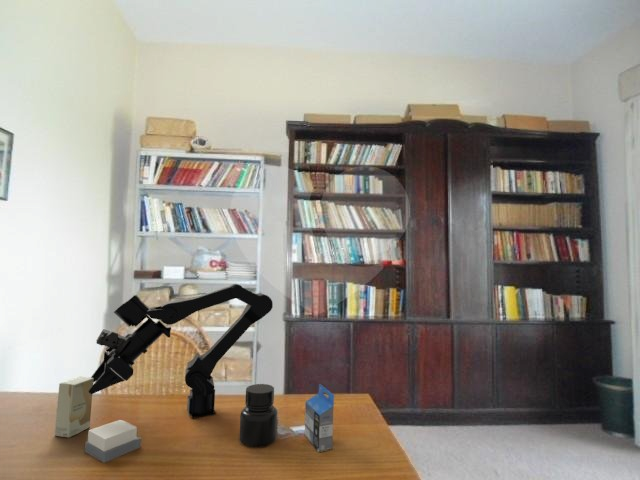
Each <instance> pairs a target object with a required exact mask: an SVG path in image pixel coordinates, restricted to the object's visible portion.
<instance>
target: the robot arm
mask: <svg viewBox="0 0 640 480" xmlns="http://www.w3.org/2000/svg"><path fill="white" fill-rule="evenodd" d="M235 299H237V300H239V301H241V302H243V303H244V304H246V305H245V307H244V310H243V311H242V313H241V315H240V316H238V318H237V319H236V320H235V321H234V323H232V325H230V326H229V328H228V329H227V330H225V332H224V333H223V334H222V335H221V336H220V337H219V338H218V339H217V340H216V341H215V343H214V344H213V345H212V346H211V347H210V348H209V349H208V350H207V351H206V352H205V353H202V354H201V353H199V352H196V354H195V355H194V356H193V358H192V359H191V360H189V361H187V366H186V369H185V371H184V372H185V373H184V382H185V384H186V385H187V387H189V388H190V389H189V395H187V402H186V411H187V413H188V415H189V416H190V418H191V419H195V418H196V419H197V418H201V417H207V416H212V415H213V416H214V415H216V414H217V411H216V410H215V403H216V402H215V401H216V399H215V398H216V396H215V395H216V389H215V382H214V377H213V376H212V373H213V372H214V370H215V368H216V365H217V364H218V362H219V361H220V360H221V359H222V358H223V356H225V354H226V353H227V352H228V351H229V350H230V349H231V348H232V347H233V346H234V345H235V343H237V341H239V339H240V338H241V337H242V336H243V335H244V334H245V332H247V330H248V329H249V328H250V327H251V326H252V325H253V324H255V323H256V322H258V321H260V320H261V319H263V318H264V317H265V316H266V315H268V314H269V313H270V312H271V311H272V309H273V308H274V307H273V300H272V298H271V297H270V296H268V295H267V294H265V293H262V292H260V293H255V292H252V291H250V290H248V289H246V288H245V287H243V286H241V284H237V283H233V284H231V285H229V286H227V287H223V288H220V289H217V290H214V291H211V292H208V293H205V294H201V295H199V296H195V297H192V298H185V299H178V300H171V301H170V300H169V301H167V302H164V304H163V305H162V306H161V305H160V306H152V307H149V306H147V304H145V302H143V301H142V299H141V297H139V296H138V295H137V294H134V295H133V296H132V297H131V298H129V299H128V300H127V301H125V302H124V303H122V304H121V305H120V306H119V307H118V308H117V309H115V310H114V311H113V313H114V314H115V315H116V316H117V317H118V318H119V319H120V320H121V321H122V322H123V323H124V324H126V325H127V326H128V328H130V327H137V326H138V325H139V327H138V328H136V329H135V330H134V331H133V332H131V333H127V334H126V335H125V336H124V335H121V334H118V333H119V332H115V331H113V330H107V329H102V330H101V332H100V334H99V335H98V337H97V339H96V342H95V343H96V344H98V345H99V346H105V350H104V352H103V360H102V362H101V363H100V364H99V366H98V367H97V369H96V370H95V372H94V373H93V374H92V375H91V376H90V378H94V380H93V386H92V387H91V388H90V390H89V391H88V392H89V393H90V394H92V395H93V394H96V393H98V392H100V391H102V390H105V389H107V388H110V387H111V386H114V385H117V384H119V383H121V382H122V383H123V382H125V381H126V382H127V381H128V380H129V379H130V378H132V376H133V375H134V368H133V366H134V365H135V361H136V360H137V359H138V358H139V357H140V356H141V355H143V354H144V355H145V354H146V353H147V352H148V348H150V347H151V346H152V345H153V344H154V343H156V341H157V340H158V339H159V338H160V337H161V336H162V335H165V336H166V338H171V331H172V327H171V326H170V325H174V324H176V323H177V324H178V322H180V321H183V320H185V319H186V318H189V316H191V315H192V314H194V313H196V312H199V311H202V310H205V309H208V308H211V307H214V306H217V305H219V304H223V303H225V302H228V301H229V302H230V301H231V300H235ZM145 319H147V320H146V321H144V320H145ZM154 320H157V321H156V322H155V321H154ZM143 321H144V322H143ZM142 322H143V323H142ZM141 323H142V324H141ZM166 325H168V326H166Z"/></svg>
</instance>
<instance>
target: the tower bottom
mask: <svg viewBox="0 0 640 480" xmlns="http://www.w3.org/2000/svg"><path fill="white" fill-rule="evenodd" d="M141 446H142V437H139V436H138V435H137V438H136V439H135V440H132V441H130V442H127V443H125V444H122V445H120V446H117V447H115V448H112V449H109V450H107V451H102V450H101V449H99V448H97V447H95V446H94V445H92V444H90V443H89V442H88V440H87V441H85V442H84V453H85V454H88V455H89V456H91V457H93V458H95V459H96V460H98V461H100V462H102V463H103V464H105V463H108V462H110V461H112V460H115V459H117V458H119V457H121V456H124V455H125V454H128V453H130V452H132V451H135V450H138V449H140V448H141Z"/></svg>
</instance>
